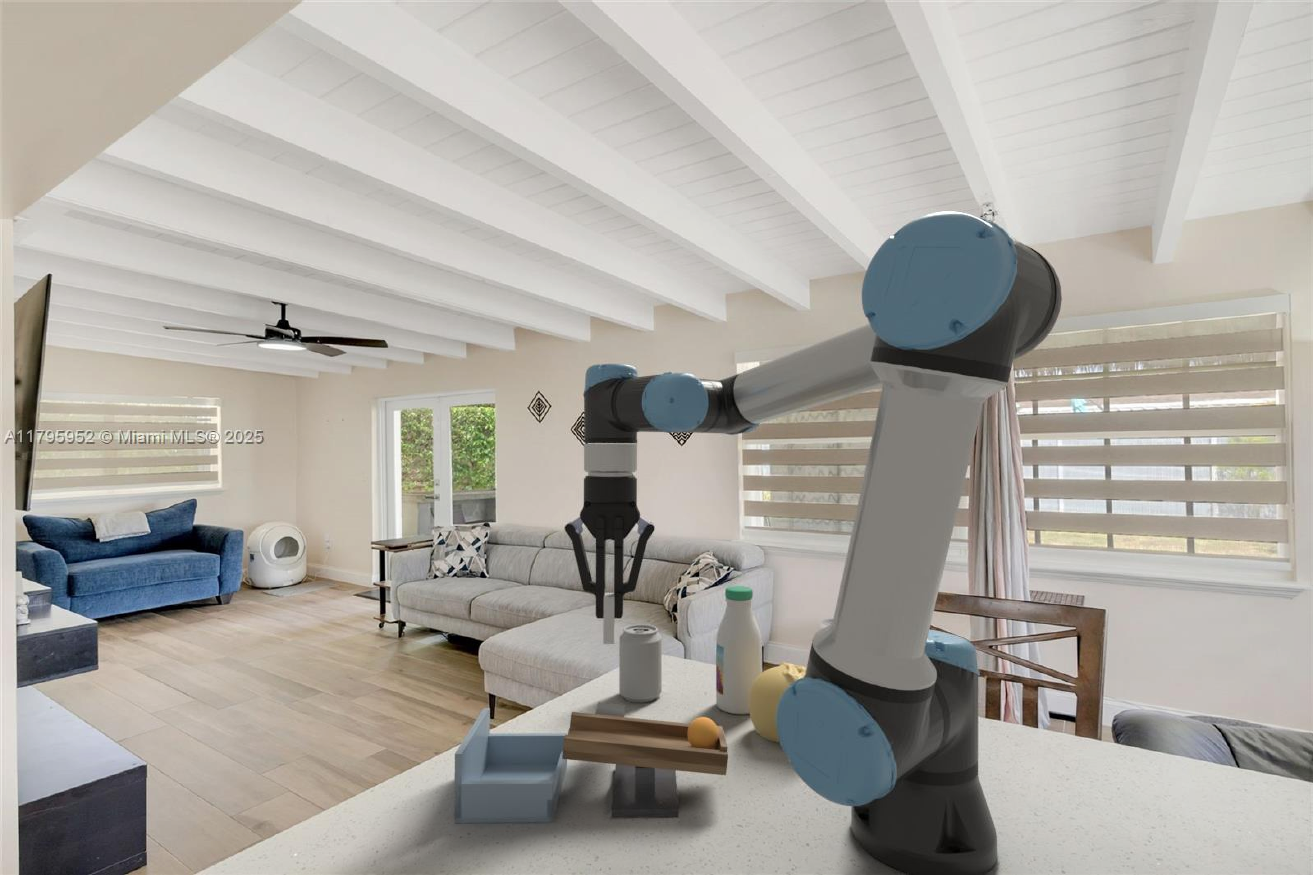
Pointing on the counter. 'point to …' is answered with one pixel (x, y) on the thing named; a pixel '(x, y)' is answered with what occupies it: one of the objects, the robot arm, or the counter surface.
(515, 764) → the box
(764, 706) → the sculpture
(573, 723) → the seesaw chute
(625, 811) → the pivot stand
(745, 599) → the milk bottle
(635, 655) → the can
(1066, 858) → the counter surface
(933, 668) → the robot arm
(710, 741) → the ball
